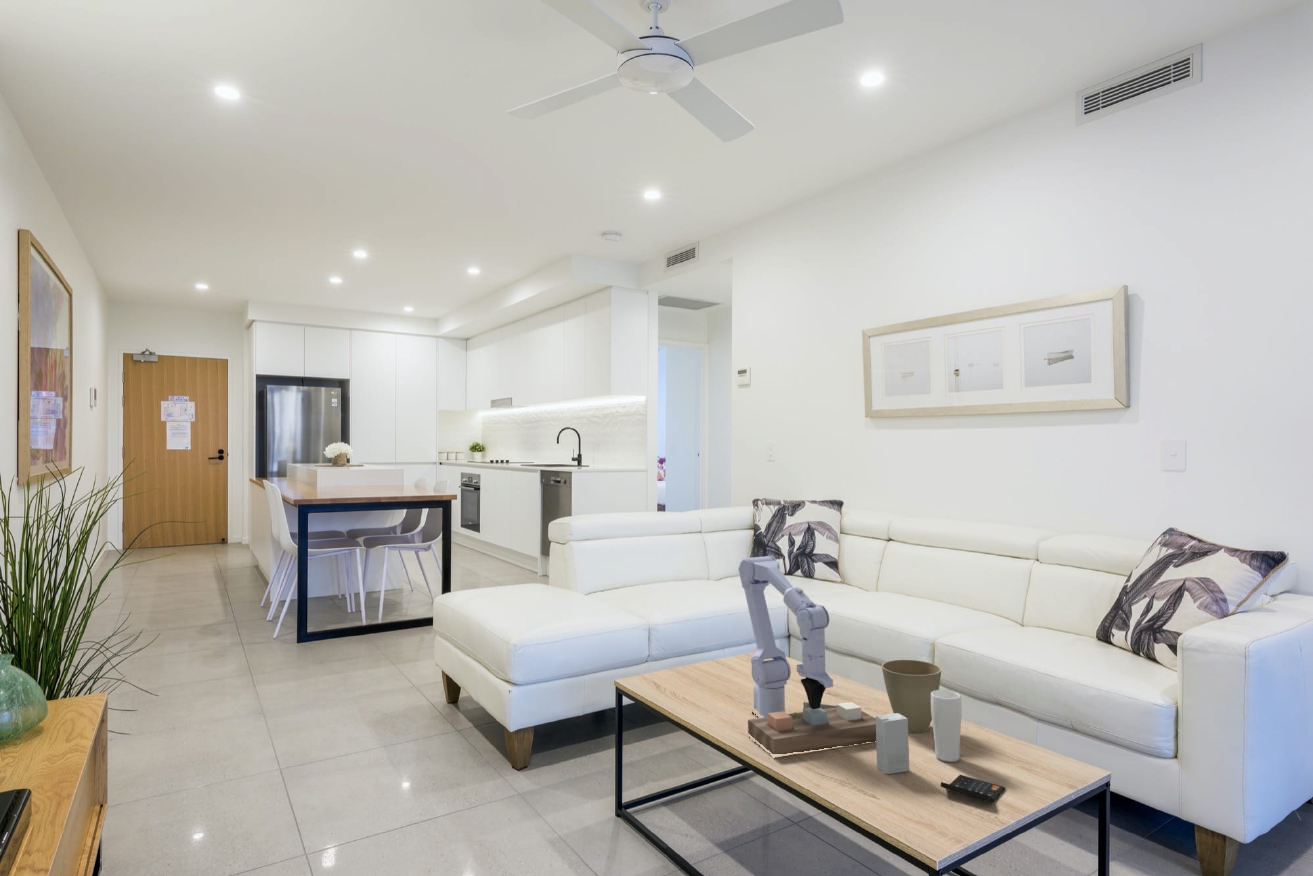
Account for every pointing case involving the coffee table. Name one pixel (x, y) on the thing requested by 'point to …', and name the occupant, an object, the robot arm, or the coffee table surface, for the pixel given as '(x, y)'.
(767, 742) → the board
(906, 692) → the plant pot
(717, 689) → the coffee table surface
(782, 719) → the pink cube
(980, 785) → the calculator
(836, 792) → the coffee table surface
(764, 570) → the robot arm
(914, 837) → the coffee table surface
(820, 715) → the slate key
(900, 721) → the skincare box
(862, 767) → the coffee table surface
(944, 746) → the drinking glass
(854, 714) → the ivory key
